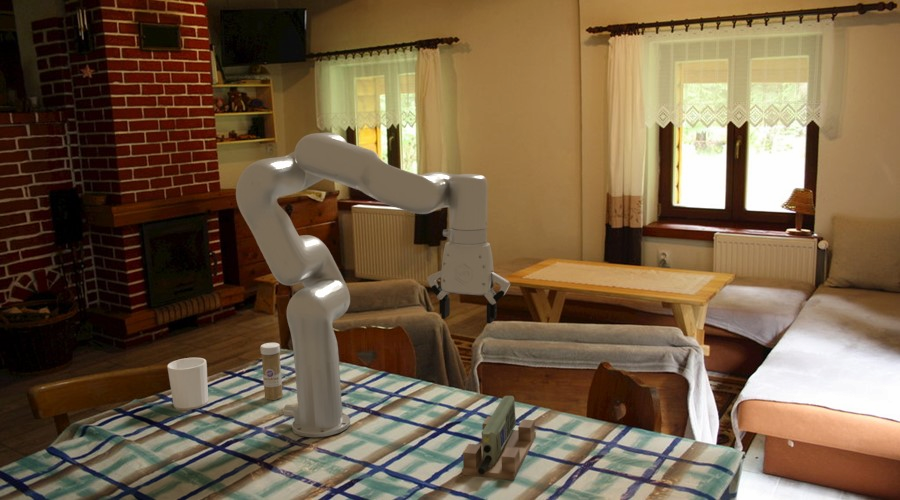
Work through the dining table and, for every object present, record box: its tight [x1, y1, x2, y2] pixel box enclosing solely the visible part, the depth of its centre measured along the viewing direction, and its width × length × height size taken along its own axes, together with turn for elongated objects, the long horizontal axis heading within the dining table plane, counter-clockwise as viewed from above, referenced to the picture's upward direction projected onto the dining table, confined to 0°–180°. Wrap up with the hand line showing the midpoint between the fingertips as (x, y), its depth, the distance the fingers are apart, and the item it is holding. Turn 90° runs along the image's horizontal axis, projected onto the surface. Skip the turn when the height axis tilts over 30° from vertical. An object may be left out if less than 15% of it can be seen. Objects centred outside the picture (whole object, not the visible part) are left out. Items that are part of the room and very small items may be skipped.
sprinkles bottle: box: [260, 342, 284, 401], centre depth 191 cm, size 5×5×13 cm
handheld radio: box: [478, 395, 517, 475], centre depth 154 cm, size 7×3×25 cm
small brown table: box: [461, 415, 537, 481], centre depth 155 cm, size 10×20×4 cm, turn 162°
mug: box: [167, 357, 209, 411], centre depth 189 cm, size 11×9×10 cm
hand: (467, 319), depth 159 cm, fingers open, 9 cm apart
